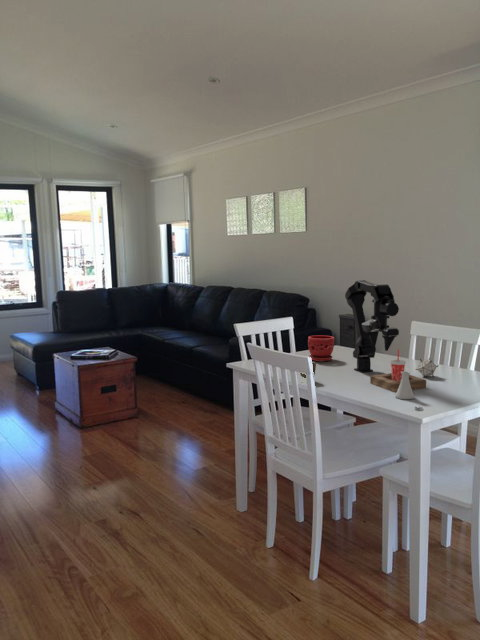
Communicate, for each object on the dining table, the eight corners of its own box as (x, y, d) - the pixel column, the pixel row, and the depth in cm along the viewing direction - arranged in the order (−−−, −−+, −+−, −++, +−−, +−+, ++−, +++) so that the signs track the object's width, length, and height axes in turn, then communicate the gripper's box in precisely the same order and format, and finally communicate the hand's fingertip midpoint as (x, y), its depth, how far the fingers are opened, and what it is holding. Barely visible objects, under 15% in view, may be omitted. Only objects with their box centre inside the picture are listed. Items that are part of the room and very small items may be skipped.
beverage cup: (388, 380, 245) (389, 348, 243) (403, 380, 244) (404, 348, 242) (391, 384, 239) (391, 350, 237) (406, 384, 238) (407, 350, 236)
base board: (370, 383, 246) (370, 375, 245) (401, 379, 252) (401, 371, 251) (394, 392, 231) (394, 384, 231) (426, 387, 237) (426, 380, 237)
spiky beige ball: (430, 385, 255) (439, 370, 248) (411, 378, 256) (420, 363, 249) (432, 372, 261) (441, 357, 255) (414, 364, 263) (423, 350, 256)
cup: (305, 384, 246) (305, 365, 245) (295, 380, 253) (295, 362, 252) (319, 381, 250) (319, 363, 248) (309, 378, 256) (309, 360, 255)
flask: (392, 395, 227) (393, 370, 225) (410, 394, 227) (411, 369, 226) (399, 400, 220) (399, 374, 218) (417, 399, 220) (418, 374, 219)
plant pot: (335, 362, 288) (336, 338, 286) (309, 362, 288) (309, 338, 287) (332, 356, 301) (332, 334, 299) (306, 357, 301) (306, 334, 300)
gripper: (352, 312, 256) (352, 347, 258) (378, 317, 239) (377, 354, 241) (373, 310, 260) (373, 344, 263) (400, 315, 243) (399, 351, 245)
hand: (379, 348), depth 253 cm, fingers open, 9 cm apart
